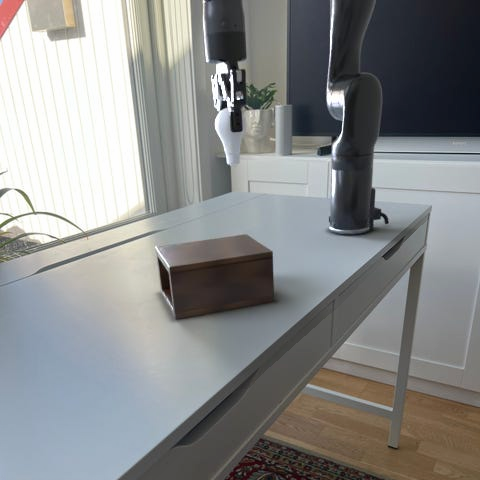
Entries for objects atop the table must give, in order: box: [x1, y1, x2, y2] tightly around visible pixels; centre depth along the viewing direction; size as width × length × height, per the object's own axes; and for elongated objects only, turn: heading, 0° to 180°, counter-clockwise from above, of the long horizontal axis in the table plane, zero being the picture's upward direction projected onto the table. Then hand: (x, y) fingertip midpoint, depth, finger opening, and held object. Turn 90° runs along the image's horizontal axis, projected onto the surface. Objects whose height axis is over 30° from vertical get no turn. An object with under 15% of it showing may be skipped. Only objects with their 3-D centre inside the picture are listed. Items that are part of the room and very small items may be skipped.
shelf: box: [155, 233, 275, 320], centre depth 77 cm, size 16×12×8 cm
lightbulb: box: [214, 107, 247, 168], centre depth 94 cm, size 6×6×11 cm
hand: (231, 131), depth 93 cm, fingers closed on lightbulb, 6 cm apart
